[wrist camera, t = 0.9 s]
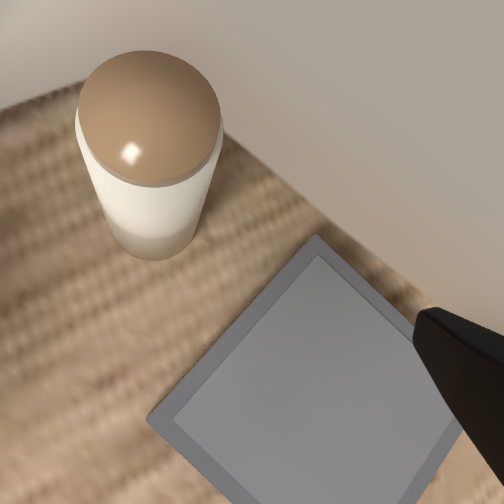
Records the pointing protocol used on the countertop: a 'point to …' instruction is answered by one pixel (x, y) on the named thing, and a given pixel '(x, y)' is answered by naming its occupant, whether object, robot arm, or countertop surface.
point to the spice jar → (149, 148)
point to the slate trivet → (312, 396)
